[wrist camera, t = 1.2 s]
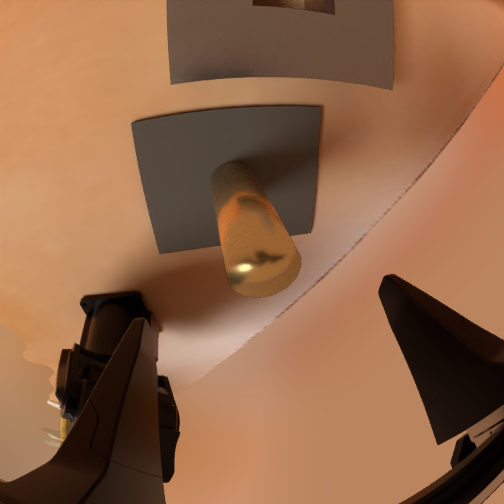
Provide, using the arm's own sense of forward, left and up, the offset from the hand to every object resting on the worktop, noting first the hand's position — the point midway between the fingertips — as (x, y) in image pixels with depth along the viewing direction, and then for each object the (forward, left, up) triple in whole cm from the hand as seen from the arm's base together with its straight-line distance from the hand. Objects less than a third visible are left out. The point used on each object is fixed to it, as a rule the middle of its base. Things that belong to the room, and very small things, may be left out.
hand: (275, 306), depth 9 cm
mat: (0, 0, -11) cm, 11 cm away
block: (+3, +13, -11) cm, 17 cm away
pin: (0, 0, -11) cm, 11 cm away
